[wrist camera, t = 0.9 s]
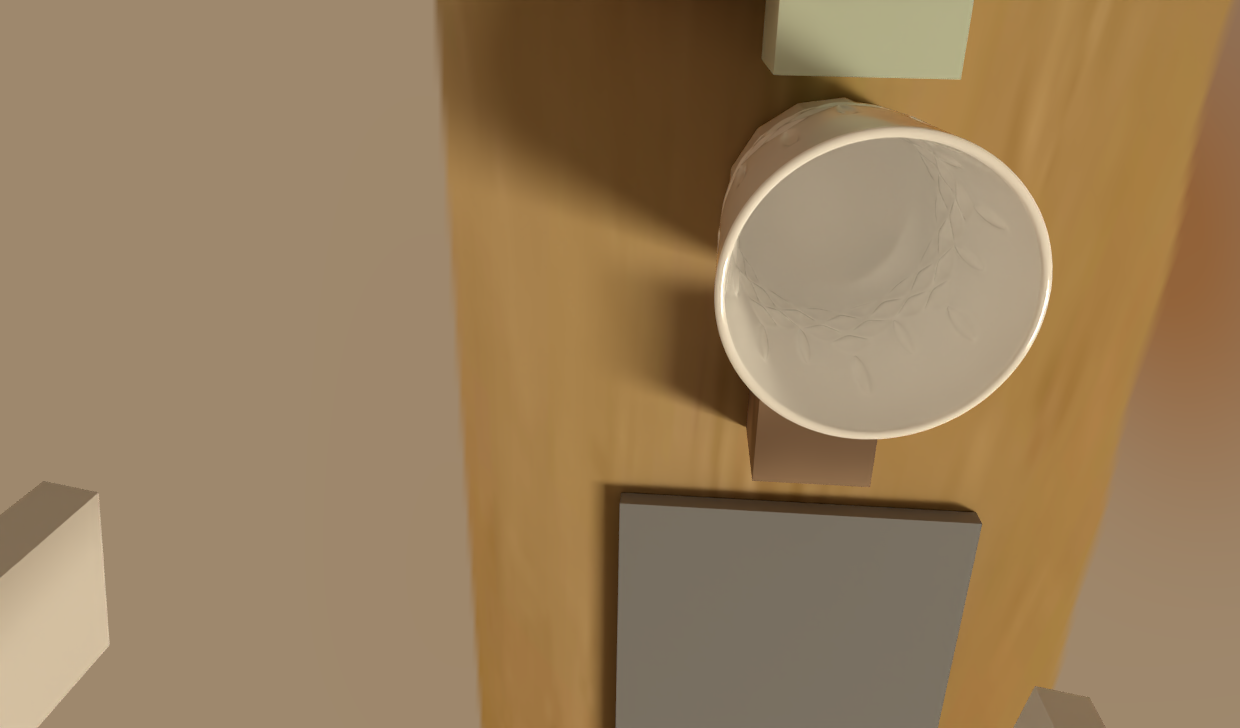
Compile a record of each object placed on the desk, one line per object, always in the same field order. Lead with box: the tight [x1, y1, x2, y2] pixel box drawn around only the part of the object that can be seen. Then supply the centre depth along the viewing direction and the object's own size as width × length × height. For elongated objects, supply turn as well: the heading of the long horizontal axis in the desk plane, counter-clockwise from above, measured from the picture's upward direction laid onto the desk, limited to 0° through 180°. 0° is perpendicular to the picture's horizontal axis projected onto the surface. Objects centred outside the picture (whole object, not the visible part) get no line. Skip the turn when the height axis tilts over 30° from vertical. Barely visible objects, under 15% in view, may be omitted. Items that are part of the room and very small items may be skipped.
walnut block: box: [746, 389, 877, 487], centre depth 31 cm, size 4×4×4 cm
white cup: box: [714, 97, 1052, 439], centre depth 26 cm, size 8×8×10 cm
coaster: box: [616, 493, 982, 728], centre depth 37 cm, size 14×14×1 cm
